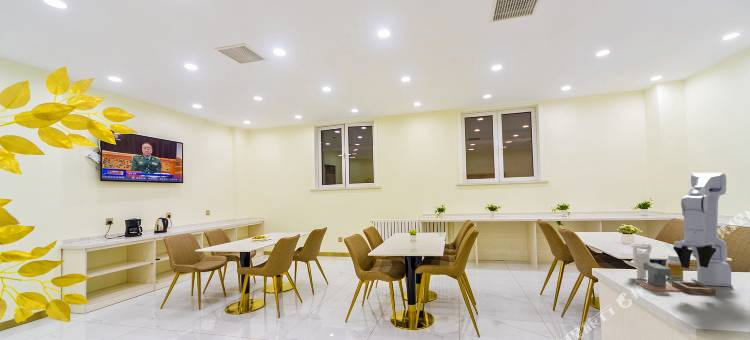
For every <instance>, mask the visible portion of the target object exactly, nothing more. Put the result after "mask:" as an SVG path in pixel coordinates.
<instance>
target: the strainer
mask: <svg viewBox="0 0 750 340" xmlns="http://www.w3.org/2000/svg"><path fill="white" fill-rule="evenodd" d="M630 247H631V248H632V257H633V258H632V260H630V264H631V265H632V266H635V267H636V278H637V279H638V278H641V279H640V280H645V279H644V278H646V279H647V270H645V269H644V263H651V262H650V261H651V259H650V257H651V255H650V253H651V252H652V251H651V250H652V249H653V246H652V245H651V243H649V242H648V243H647V242H642V243H637V242H636V243H634V242H633V243H631V244H630Z"/></svg>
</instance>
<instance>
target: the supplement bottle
mask: <svg viewBox="0 0 750 340" xmlns="http://www.w3.org/2000/svg"><path fill="white" fill-rule="evenodd" d="M667 258H668V259H667V260H666V261H665V267H667V268H669V269H671V276H667V277H668V278H671V279H670V280H672V279H673V280H672V281H684V267H682V266H681V263H680V260H679V257H678V255H677V254H668V255H667ZM667 277H666V278H667ZM668 278H667V279H668Z"/></svg>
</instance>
